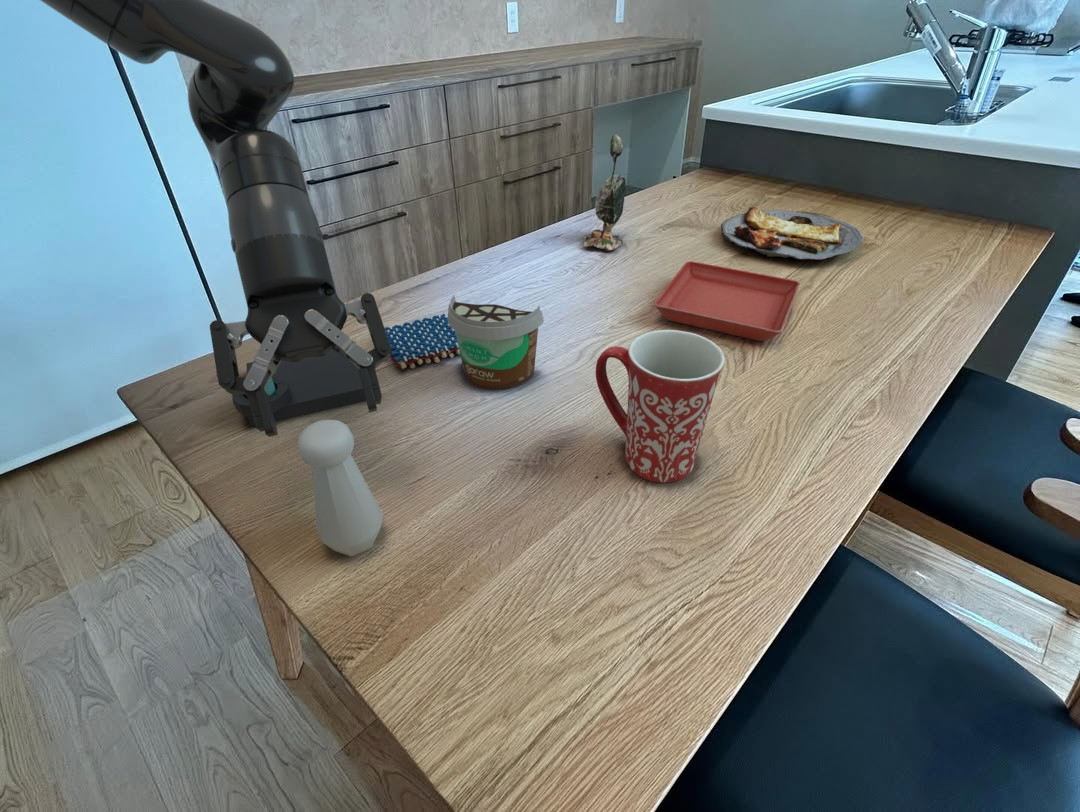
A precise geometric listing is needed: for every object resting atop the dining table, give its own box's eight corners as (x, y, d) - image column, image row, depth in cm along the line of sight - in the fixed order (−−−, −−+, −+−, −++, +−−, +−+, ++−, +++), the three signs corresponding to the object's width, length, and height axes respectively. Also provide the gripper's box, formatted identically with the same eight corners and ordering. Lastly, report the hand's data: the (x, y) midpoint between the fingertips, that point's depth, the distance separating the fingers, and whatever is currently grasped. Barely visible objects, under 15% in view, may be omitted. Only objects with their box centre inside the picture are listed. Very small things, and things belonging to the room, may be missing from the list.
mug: (717, 453, 64) (740, 346, 56) (680, 502, 58) (700, 391, 50) (616, 412, 70) (624, 310, 62) (574, 453, 64) (576, 347, 56)
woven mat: (474, 354, 81) (472, 341, 80) (399, 374, 77) (396, 361, 76) (448, 322, 88) (446, 310, 87) (378, 339, 85) (376, 326, 83)
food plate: (700, 246, 111) (702, 228, 109) (746, 212, 126) (750, 196, 124) (838, 278, 99) (844, 258, 97) (871, 237, 113) (877, 219, 111)
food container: (438, 386, 75) (428, 316, 69) (457, 361, 79) (449, 294, 73) (530, 402, 72) (527, 330, 66) (544, 375, 76) (543, 306, 70)
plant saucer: (796, 299, 93) (801, 279, 91) (776, 352, 80) (782, 331, 78) (684, 278, 100) (687, 259, 98) (650, 324, 87) (652, 304, 85)
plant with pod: (635, 236, 115) (645, 126, 104) (610, 256, 108) (617, 139, 96) (598, 229, 119) (603, 122, 107) (571, 248, 111) (573, 134, 99)
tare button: (246, 403, 67) (241, 390, 66) (246, 388, 69) (241, 376, 68) (276, 396, 68) (271, 384, 67) (275, 382, 70) (270, 370, 69)
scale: (241, 434, 67) (231, 410, 65) (242, 376, 77) (233, 354, 75) (373, 404, 72) (368, 380, 70) (358, 353, 82) (353, 331, 80)
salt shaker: (395, 547, 54) (368, 439, 46) (332, 574, 52) (293, 464, 44) (375, 507, 58) (347, 401, 50) (316, 530, 56) (278, 423, 48)
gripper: (362, 255, 58) (403, 410, 57) (206, 280, 54) (245, 448, 53) (359, 219, 51) (406, 395, 50) (179, 244, 47) (223, 437, 45)
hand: (323, 422), depth 51 cm, fingers open, 8 cm apart
